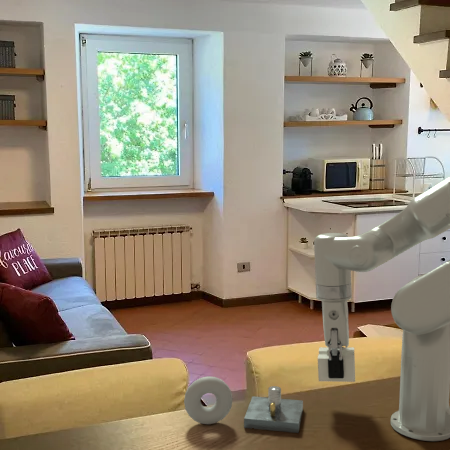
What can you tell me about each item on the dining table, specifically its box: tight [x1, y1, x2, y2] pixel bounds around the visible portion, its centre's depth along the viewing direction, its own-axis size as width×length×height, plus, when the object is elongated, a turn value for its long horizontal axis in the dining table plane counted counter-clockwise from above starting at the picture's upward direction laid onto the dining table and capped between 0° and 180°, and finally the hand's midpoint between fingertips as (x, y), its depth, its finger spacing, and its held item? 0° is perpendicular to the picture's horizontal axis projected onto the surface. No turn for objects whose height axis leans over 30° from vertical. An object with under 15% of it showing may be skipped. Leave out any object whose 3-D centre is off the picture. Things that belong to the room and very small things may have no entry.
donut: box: [183, 376, 234, 425], centre depth 129 cm, size 10×4×10 cm, turn 98°
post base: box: [243, 385, 304, 434], centre depth 131 cm, size 11×11×6 cm
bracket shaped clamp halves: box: [317, 346, 356, 383], centre depth 136 cm, size 8×8×5 cm
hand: (336, 370), depth 136 cm, fingers closed on bracket shaped clamp halves, 7 cm apart
